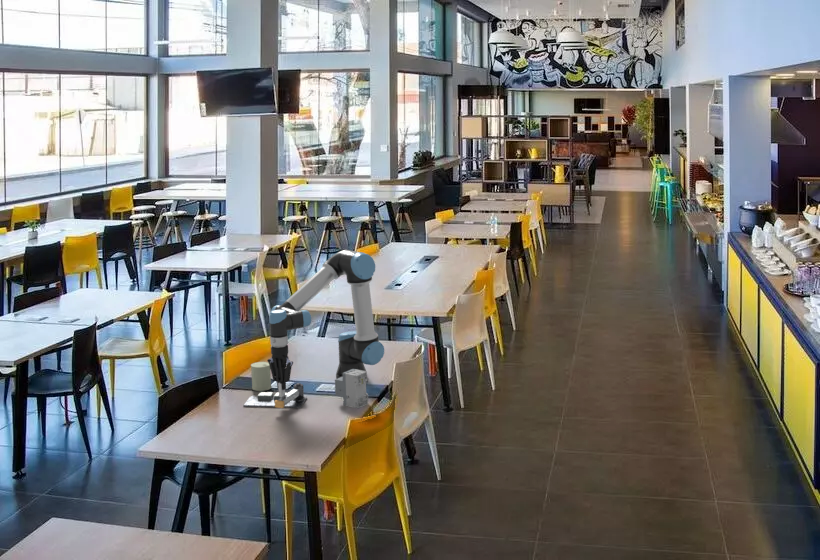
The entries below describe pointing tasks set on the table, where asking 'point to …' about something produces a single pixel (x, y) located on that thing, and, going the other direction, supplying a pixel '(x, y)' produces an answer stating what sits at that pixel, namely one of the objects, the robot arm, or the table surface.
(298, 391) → the swing arm
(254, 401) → the tray
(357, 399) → the circuit breaker
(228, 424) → the table surface
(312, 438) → the table surface
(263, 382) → the can
